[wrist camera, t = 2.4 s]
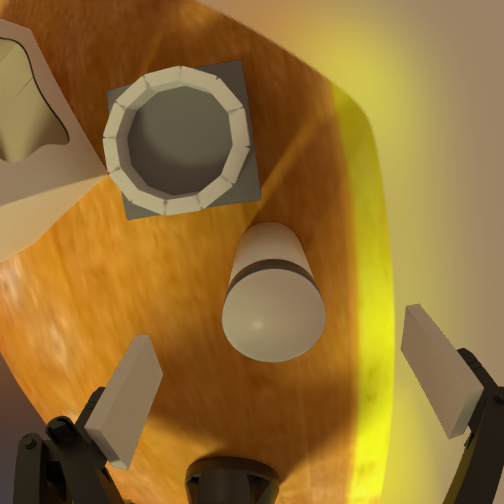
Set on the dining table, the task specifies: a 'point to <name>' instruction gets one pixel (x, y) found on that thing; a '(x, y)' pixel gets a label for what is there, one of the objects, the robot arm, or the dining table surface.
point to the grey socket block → (182, 141)
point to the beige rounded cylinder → (272, 296)
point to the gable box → (37, 145)
